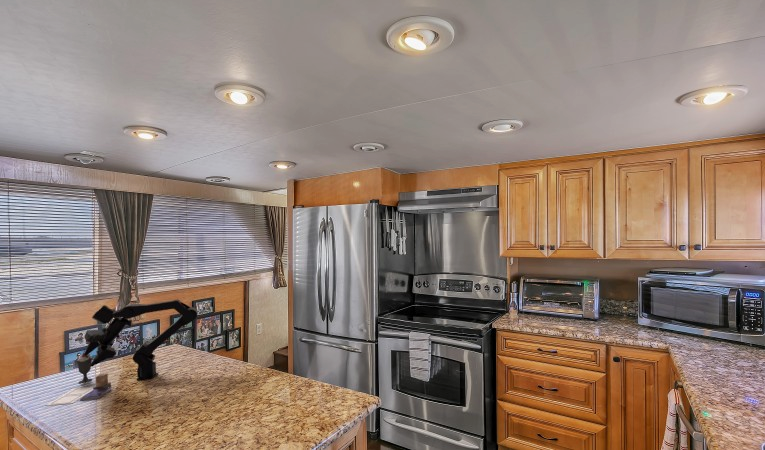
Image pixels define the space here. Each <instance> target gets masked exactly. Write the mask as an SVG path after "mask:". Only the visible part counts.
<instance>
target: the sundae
mask: <svg viewBox="0 0 765 450" xmlns="http://www.w3.org/2000/svg"><path fill="white" fill-rule="evenodd" d="M85 351H86V349H84V350H83V352H82V354H81V355H80V356H79V358H77V359H76V360H75V361H74V362H75V363H76V365H77V368H78V372H79V373H80V374H81V375H83V377H82V380H79V381H78V384H87V383H89V382H91V381H92V380H93V378H88V373H89V372H90V371H91V369H92V367H91V366H90V364H91V363H92V361H93V360H94V358H95V357H94V356H92V355H91V353H89V354H88V355H84V353H85ZM86 382H87V383H86Z"/></svg>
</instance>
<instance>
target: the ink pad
mask: <svg viewBox="0 0 765 450" xmlns="http://www.w3.org/2000/svg"><path fill="white" fill-rule="evenodd" d="M109 391H110V392H112V387H109V388H104V389H94V390H92V391H91V392H89V393H88V394H86V395H84V396H83V397H81V398H80V399H79V400H80V401H90V400H99V399H101V398H102V397H104V396H105V395H107V394H109V393H110V392H109ZM106 393H107V394H106Z"/></svg>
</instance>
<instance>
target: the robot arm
mask: <svg viewBox="0 0 765 450" xmlns="http://www.w3.org/2000/svg"><path fill="white" fill-rule="evenodd" d="M168 310H174V311H176V312H177V313H178V314H180V316H179V318H178V319H177V320H175V321H174V322H173V323H172V324H171V325H170V326H169V327H167V328H166V329H165V330H164V331H162V332H161V333H160V334H159V335H157V337H155V338H154V339H153V340H152V341H150V342H148V343H147V342H146V341H144V342H143V343H142V344H141V345H140V346H138V347H137V348H136V349H135V350H134V354H133V356H132V361H133V362H134V363H135V364H137V369H136V373H137V374H136V375H137V376H136V377H137V378H136V380H135V381H143V380H152V379H154V377H156V376H157V375H158V374H159V372H157V366H156V365H157V364H156V363H157V362H156V361H155V359H156V355H155V354H154V352H155V351H156V349H157V348H159V347H160V346H162V344H163V343H165V342H166V341H167V340H169V338H171V337H172V336H173V335H174V334H175V333H176V332H178V331H180V329H181V328H183V327H185V326H187V325H189V324H190V323H192V322H193V321H195V320H196V319H197V317H198V313H199V311H198V309H197V308H196V307H194V306H193V307H192V306H190V305H188V304H186V303H184V302H183V301H181V300H179V299H173V300H166V301H161V302H159V301H158V302H153V303H146V304H145V303H129V304H126V305H125V306H124V307H123V308H120V309H117V310H114V309H112V308H110V307H109V306H107V305H106V304H104V305H102V306H101V307H100V308H99V309H98V310H97V311H96V312H95V313H94V314H93V315H92V317H91V319H93V320H95V321H97V322H99V323H100V324H102V325H106V324H108V326H104V327H103V328H101V329H87V330H86V332H85V334H84V339H85V342H87V343H88V345H87V347H86V349H85V353H84V355H88V354H91V353H93V351H95V350H96V349H97V348H98V350H96V355H95V357H94V359H92V362H91V364H90V366H91V368H92V367H94V366H96V365H98V364H99V363H101V362H103V361H105V360H107V359H113V358H114V357H115V356H116V355H117V351H116V349H115V348H114V347H113V345H114V343H113V342H115V341H114V340H115V339H116V338H118V339H119V338H120V337H121V335H120V334H121V333H122V331H123V330H125V328H126V326H128V327H132V326H133V325H134V323H133V318H136V317H139V316H141V315H142V316H143V315H145V314H149V313H157V312H161V311H168Z"/></svg>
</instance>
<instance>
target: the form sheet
mask: <svg viewBox="0 0 765 450" xmlns="http://www.w3.org/2000/svg"><path fill="white" fill-rule="evenodd" d="M95 386H96V385H94V386H84V387H74V388H73V389H71V390H69V391H68V392H66V393H64V394H63V395H60V396H59V397H57V398H56V399H54V400H52V401H51V402H48V403H47V404H45V405H44V406H45V407H48V406H49V407H50V406H58V405H69V404H70V405H71V404H74V403H75V402H77V401H78V400H80V398H81V397H83V396H84V395H86V394H88V393H89V392H91V391H92V390H93V388H94V387H95Z"/></svg>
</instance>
